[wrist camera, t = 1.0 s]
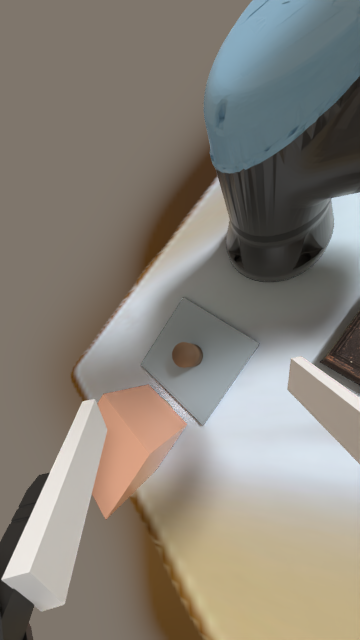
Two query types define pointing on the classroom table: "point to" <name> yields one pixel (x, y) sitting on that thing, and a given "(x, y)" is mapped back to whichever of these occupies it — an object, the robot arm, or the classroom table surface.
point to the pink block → (132, 443)
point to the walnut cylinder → (187, 355)
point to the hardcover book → (347, 352)
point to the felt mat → (216, 366)
